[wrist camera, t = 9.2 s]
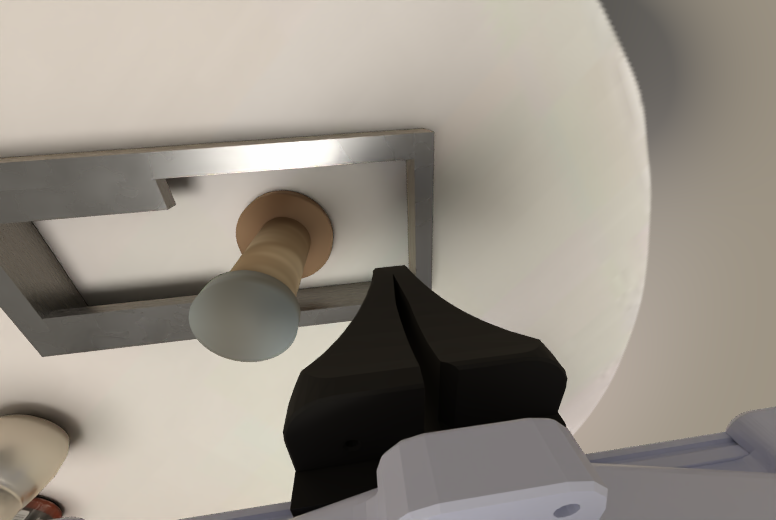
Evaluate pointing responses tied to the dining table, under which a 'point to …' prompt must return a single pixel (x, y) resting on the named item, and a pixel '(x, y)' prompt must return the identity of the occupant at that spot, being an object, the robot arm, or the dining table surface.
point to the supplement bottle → (39, 510)
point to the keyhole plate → (151, 193)
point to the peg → (263, 279)
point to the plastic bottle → (27, 459)
